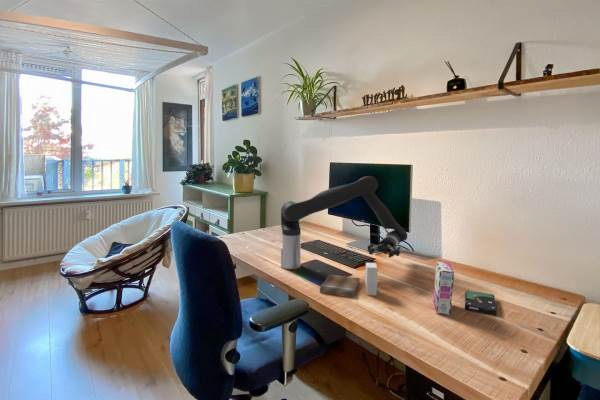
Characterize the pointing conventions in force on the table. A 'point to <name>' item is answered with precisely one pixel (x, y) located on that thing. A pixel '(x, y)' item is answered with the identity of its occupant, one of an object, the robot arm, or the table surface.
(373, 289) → the skincare box
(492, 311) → the disk drive
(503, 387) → the table surface
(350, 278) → the walnut riser
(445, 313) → the candy bar box
